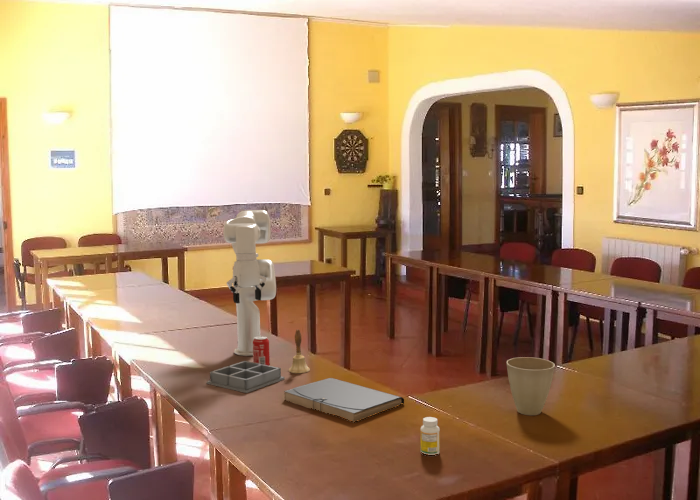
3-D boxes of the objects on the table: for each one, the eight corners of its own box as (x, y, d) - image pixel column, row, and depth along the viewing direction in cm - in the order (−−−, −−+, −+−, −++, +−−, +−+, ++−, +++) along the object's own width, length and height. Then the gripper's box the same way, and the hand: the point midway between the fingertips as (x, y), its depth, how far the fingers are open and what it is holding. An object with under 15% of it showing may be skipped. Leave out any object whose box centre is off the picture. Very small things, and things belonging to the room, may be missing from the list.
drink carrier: (245, 370, 296) (245, 359, 296) (284, 379, 285) (284, 367, 284) (206, 383, 280) (206, 372, 280) (246, 393, 269) (246, 381, 268)
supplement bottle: (432, 458, 210) (432, 424, 208) (416, 453, 213) (416, 419, 212) (443, 452, 214) (443, 418, 213) (427, 447, 217) (427, 414, 216)
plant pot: (527, 422, 236) (527, 372, 234) (496, 408, 249) (496, 360, 247) (564, 414, 242) (565, 365, 240) (532, 401, 256) (533, 354, 253)
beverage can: (271, 365, 304) (270, 335, 302) (267, 369, 297) (267, 339, 296) (255, 365, 304) (254, 335, 303) (251, 369, 298) (251, 339, 297)
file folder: (283, 390, 260) (334, 375, 277) (283, 402, 260) (334, 387, 277) (353, 412, 237) (404, 395, 254) (353, 425, 237) (404, 407, 255)
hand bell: (284, 372, 294) (283, 331, 292) (294, 366, 301) (293, 326, 299) (304, 374, 291) (303, 333, 289) (313, 368, 298) (312, 328, 296)
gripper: (259, 254, 304) (261, 297, 306) (221, 258, 293) (223, 303, 295) (270, 256, 298) (271, 299, 300) (231, 260, 288) (233, 305, 289)
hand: (247, 301), depth 298 cm, fingers open, 9 cm apart
